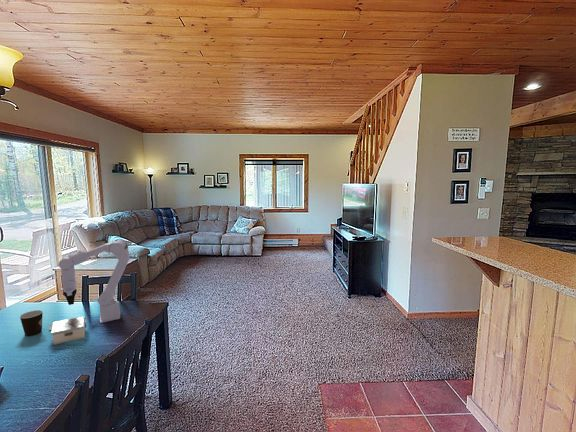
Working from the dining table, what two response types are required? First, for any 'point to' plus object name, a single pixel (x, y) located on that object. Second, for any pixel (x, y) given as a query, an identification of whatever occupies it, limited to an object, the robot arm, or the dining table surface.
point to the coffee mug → (32, 322)
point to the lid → (67, 325)
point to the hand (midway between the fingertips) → (71, 304)
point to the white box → (69, 335)
